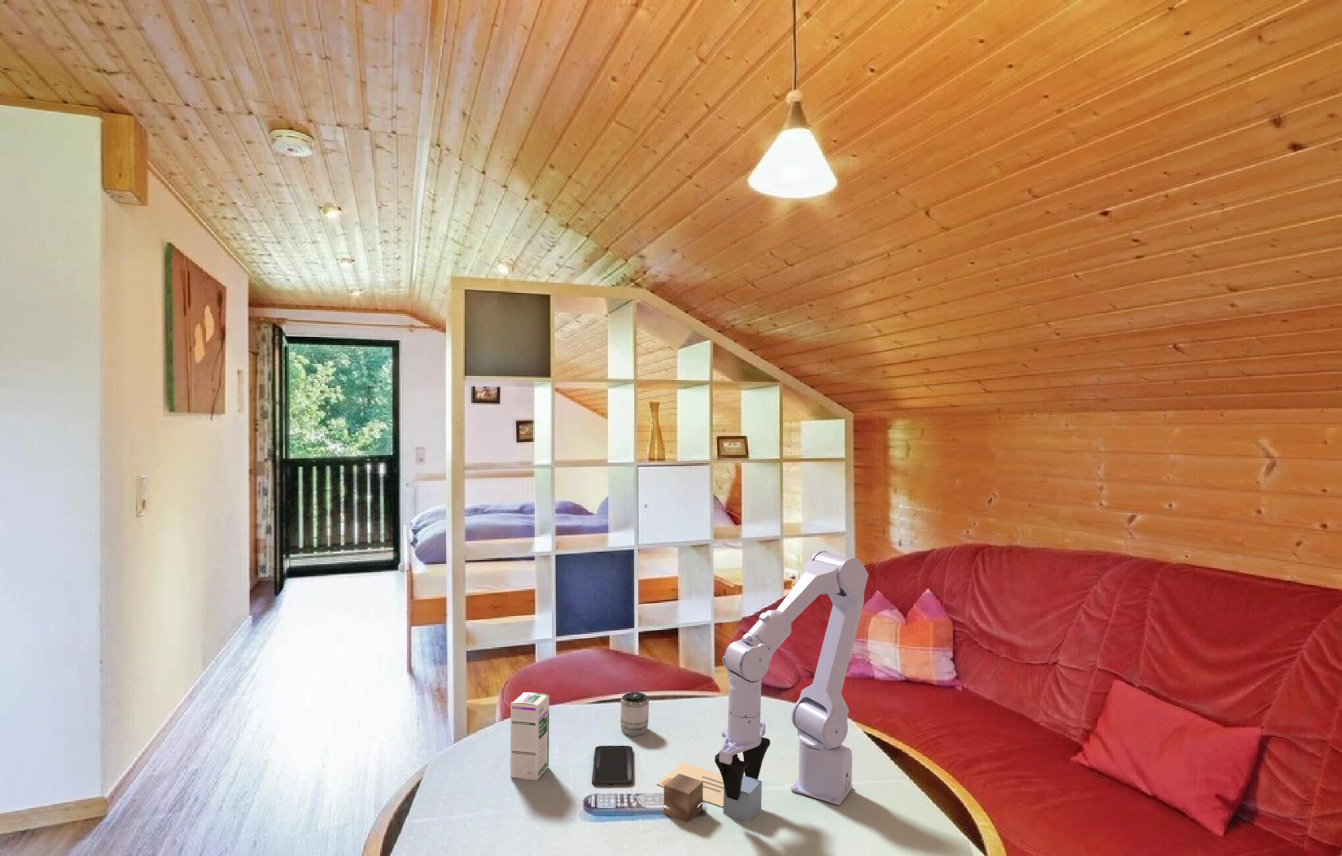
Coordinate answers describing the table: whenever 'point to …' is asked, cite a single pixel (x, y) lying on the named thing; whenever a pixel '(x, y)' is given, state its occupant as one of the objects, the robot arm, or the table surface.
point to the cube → (745, 800)
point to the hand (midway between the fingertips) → (742, 788)
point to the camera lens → (634, 713)
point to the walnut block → (683, 797)
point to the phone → (613, 766)
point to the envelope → (711, 780)
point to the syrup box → (529, 736)
